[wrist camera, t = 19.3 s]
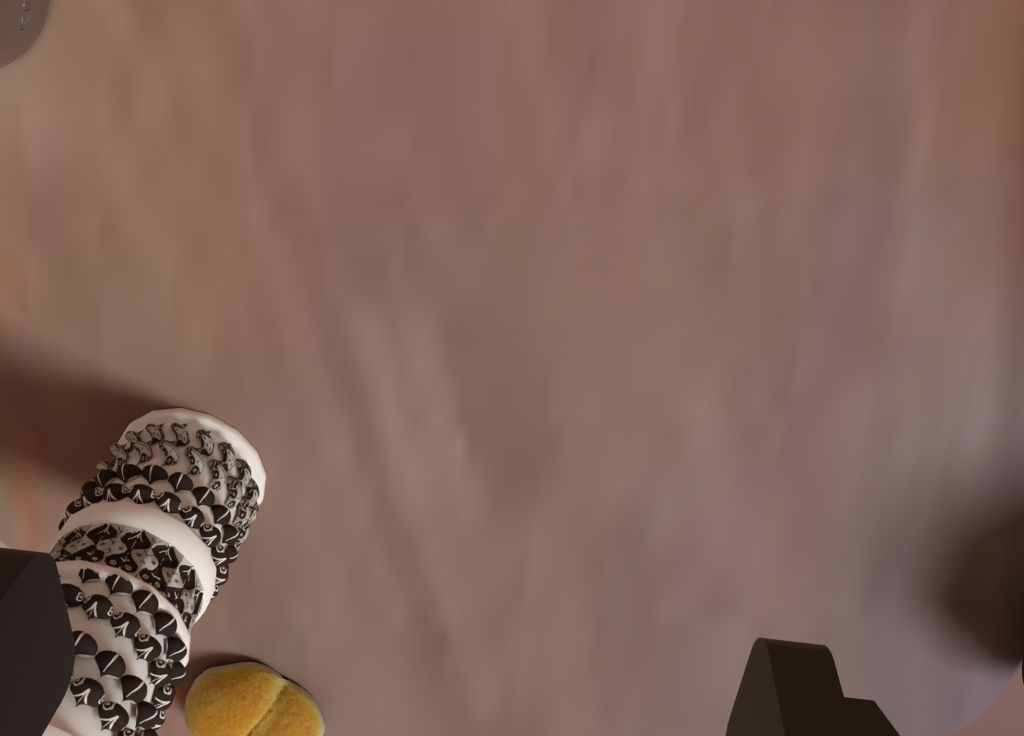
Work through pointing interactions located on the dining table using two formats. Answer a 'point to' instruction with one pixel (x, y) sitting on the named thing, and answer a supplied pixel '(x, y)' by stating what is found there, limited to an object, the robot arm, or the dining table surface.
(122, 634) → the decorative candle
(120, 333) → the dining table surface
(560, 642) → the dining table surface
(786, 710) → the robot arm
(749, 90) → the dining table surface
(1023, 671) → the squash
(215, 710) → the bread roll
